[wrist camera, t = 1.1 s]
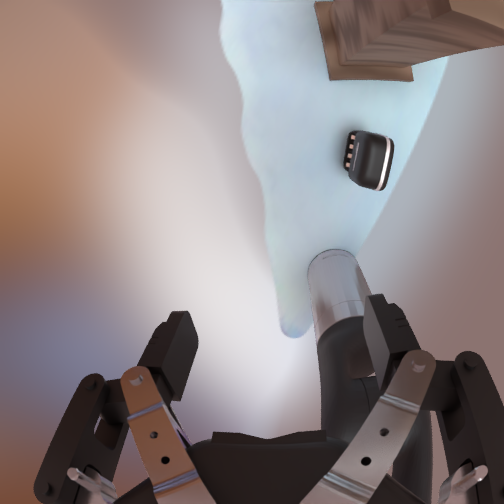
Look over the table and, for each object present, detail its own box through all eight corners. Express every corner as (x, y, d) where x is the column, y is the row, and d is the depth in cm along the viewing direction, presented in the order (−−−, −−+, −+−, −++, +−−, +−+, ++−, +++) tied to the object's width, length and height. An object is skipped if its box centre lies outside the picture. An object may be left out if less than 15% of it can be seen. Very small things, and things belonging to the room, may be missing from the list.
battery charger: (344, 126, 37) (367, 130, 27) (368, 131, 37) (397, 138, 27) (336, 170, 40) (355, 189, 30) (360, 175, 40) (385, 196, 30)
